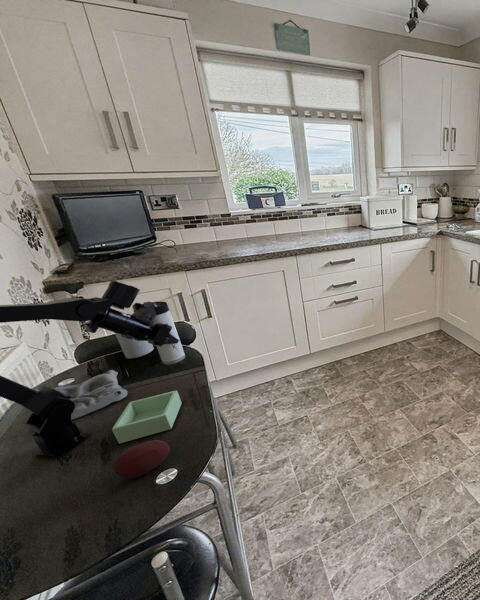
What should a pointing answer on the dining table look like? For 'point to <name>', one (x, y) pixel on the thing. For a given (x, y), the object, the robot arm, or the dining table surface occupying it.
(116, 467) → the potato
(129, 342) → the cup
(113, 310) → the robot arm
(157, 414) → the holder
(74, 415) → the wall plaque
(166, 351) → the travel mug
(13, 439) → the dining table surface
